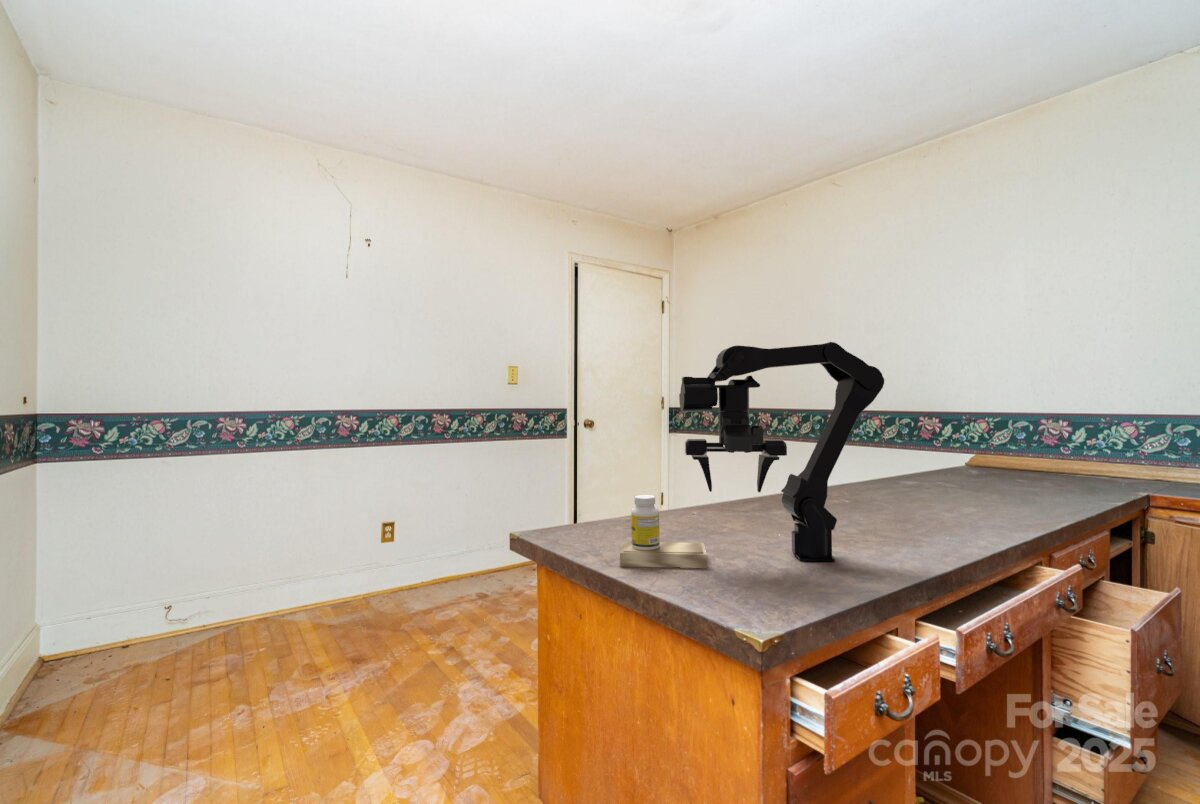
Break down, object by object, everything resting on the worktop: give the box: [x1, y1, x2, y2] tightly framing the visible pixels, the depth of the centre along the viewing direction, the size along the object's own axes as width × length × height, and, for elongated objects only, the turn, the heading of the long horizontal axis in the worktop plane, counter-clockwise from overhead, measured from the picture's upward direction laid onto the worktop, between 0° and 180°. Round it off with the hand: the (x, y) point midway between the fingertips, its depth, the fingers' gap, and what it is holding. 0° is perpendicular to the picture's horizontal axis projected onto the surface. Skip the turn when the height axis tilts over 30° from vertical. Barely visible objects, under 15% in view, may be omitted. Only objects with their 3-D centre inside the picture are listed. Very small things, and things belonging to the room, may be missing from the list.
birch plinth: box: [619, 541, 708, 569], centre depth 104 cm, size 16×8×3 cm, turn 83°
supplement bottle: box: [630, 494, 661, 550], centre depth 104 cm, size 5×5×10 cm
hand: (734, 491), depth 105 cm, fingers open, 9 cm apart
